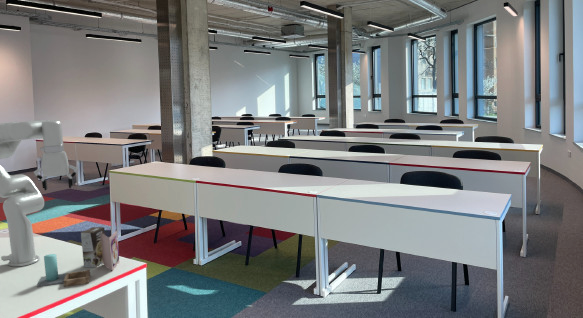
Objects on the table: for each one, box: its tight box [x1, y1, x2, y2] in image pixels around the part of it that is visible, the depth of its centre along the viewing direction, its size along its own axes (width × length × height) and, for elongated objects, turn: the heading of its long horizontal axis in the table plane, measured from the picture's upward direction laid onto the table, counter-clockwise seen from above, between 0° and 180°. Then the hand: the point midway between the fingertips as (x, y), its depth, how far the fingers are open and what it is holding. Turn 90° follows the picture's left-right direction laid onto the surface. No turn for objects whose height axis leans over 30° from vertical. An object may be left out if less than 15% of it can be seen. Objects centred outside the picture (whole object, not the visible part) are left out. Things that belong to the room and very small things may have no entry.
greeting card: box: [100, 230, 120, 272], centre depth 211 cm, size 11×7×15 cm, turn 5°
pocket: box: [63, 269, 91, 288], centre depth 197 cm, size 9×9×2 cm
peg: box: [43, 253, 59, 281], centre depth 198 cm, size 5×5×10 cm
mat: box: [36, 272, 67, 288], centre depth 198 cm, size 10×10×1 cm
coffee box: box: [80, 226, 106, 268], centre depth 216 cm, size 9×6×16 cm
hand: (58, 188), depth 207 cm, fingers open, 9 cm apart
